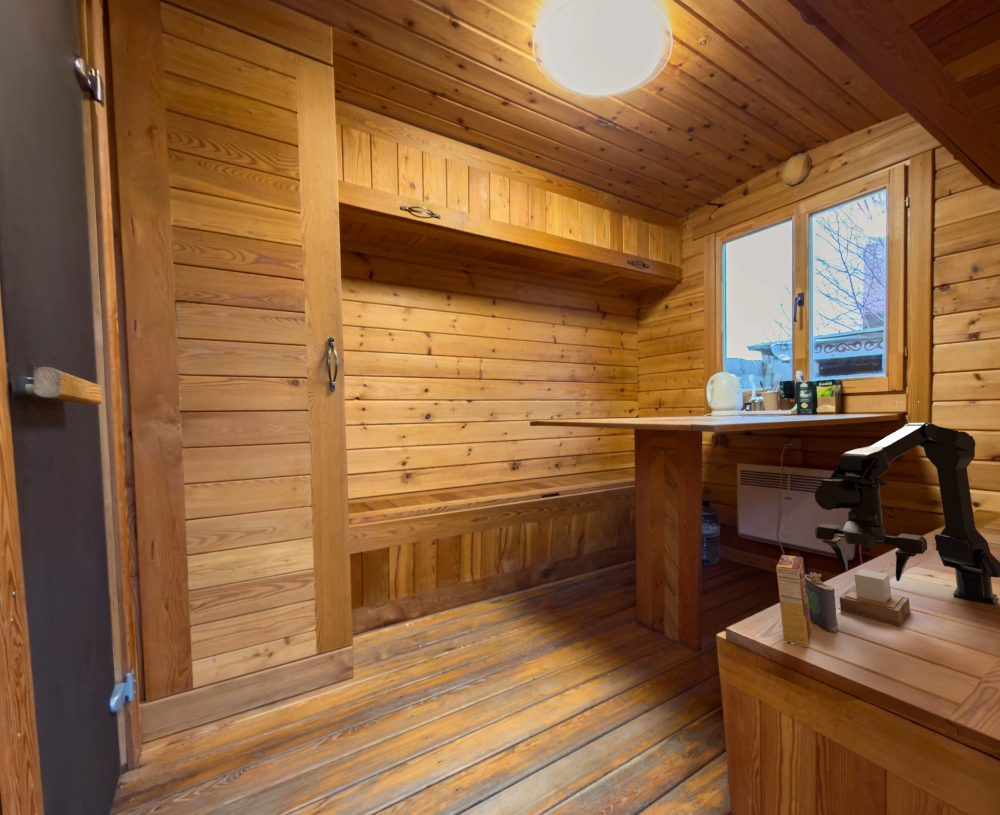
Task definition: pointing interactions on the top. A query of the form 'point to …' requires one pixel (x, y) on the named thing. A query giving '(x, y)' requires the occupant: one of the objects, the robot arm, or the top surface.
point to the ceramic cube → (872, 585)
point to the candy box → (793, 600)
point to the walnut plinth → (876, 607)
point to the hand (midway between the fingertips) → (871, 575)
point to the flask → (821, 603)
